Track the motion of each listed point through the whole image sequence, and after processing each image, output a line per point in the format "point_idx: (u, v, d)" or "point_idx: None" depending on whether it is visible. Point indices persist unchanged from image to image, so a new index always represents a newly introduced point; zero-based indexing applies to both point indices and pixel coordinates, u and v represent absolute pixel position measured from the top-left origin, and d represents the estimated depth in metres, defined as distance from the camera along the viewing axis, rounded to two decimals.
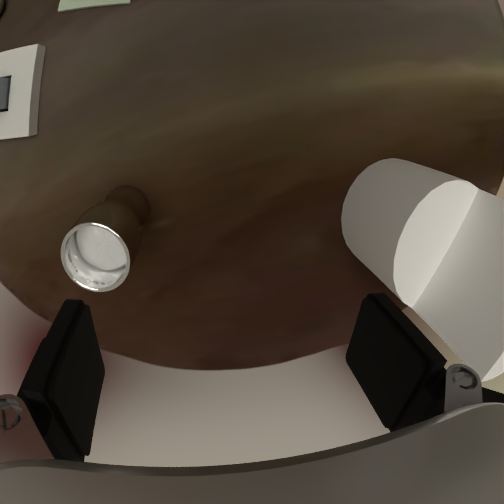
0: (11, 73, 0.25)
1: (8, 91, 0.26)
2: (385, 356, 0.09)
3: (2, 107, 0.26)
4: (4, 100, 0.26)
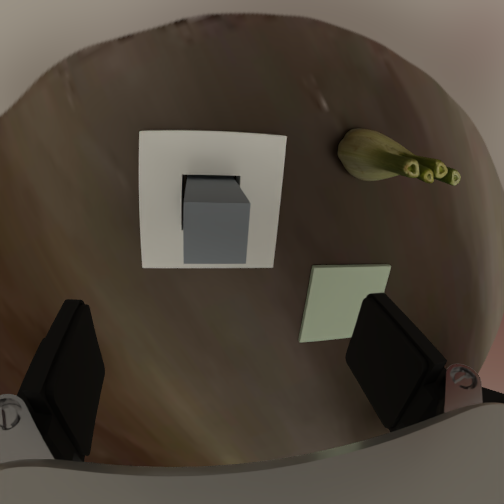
0: None
1: None
2: (385, 356, 0.09)
3: None
4: None
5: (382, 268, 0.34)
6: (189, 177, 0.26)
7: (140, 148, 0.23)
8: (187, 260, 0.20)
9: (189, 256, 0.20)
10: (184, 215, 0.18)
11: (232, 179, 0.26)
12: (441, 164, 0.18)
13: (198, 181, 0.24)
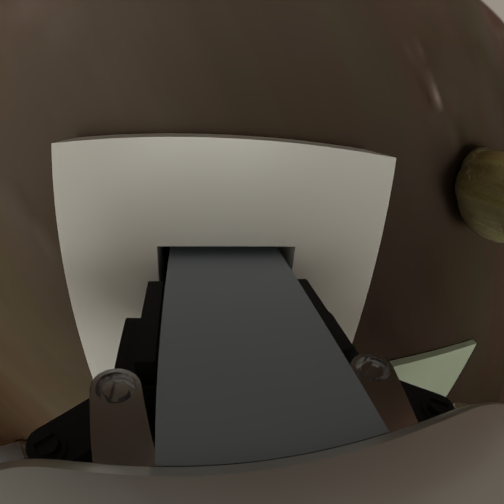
0: None
1: None
2: None
3: None
4: None
5: (467, 348, 0.20)
6: (175, 247, 0.11)
7: (56, 185, 0.09)
8: None
9: None
10: None
11: (275, 252, 0.12)
12: None
13: (197, 269, 0.10)
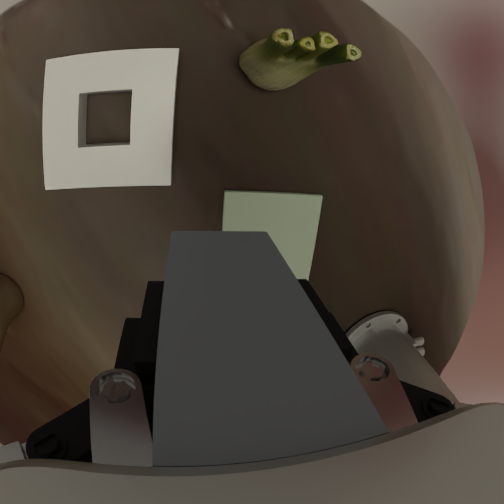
0: (132, 144, 0.24)
1: None
2: None
3: None
4: None
5: (311, 198, 0.31)
6: (174, 246, 0.11)
7: (46, 74, 0.19)
8: None
9: None
10: None
11: (274, 252, 0.11)
12: (327, 34, 0.15)
13: (195, 268, 0.10)
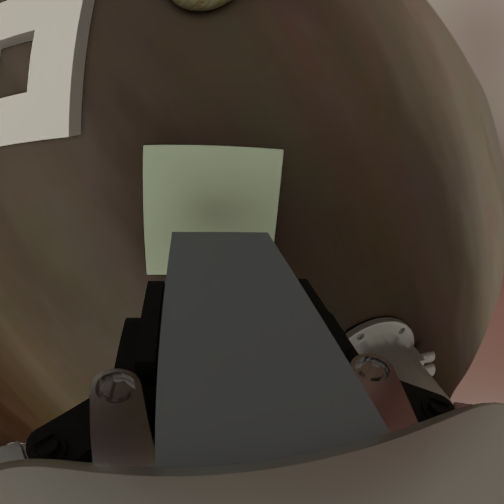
0: (29, 91, 0.15)
1: None
2: None
3: None
4: None
5: (267, 152, 0.22)
6: (175, 247, 0.11)
7: None
8: None
9: None
10: None
11: (275, 253, 0.11)
12: None
13: (197, 269, 0.10)
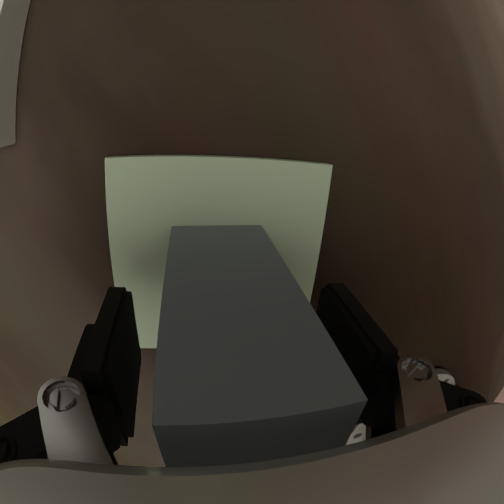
0: None
1: None
2: (340, 345, 0.09)
3: None
4: None
5: (307, 169, 0.14)
6: (174, 240, 0.12)
7: None
8: None
9: None
10: (162, 447, 0.05)
11: (267, 243, 0.12)
12: None
13: (194, 258, 0.11)
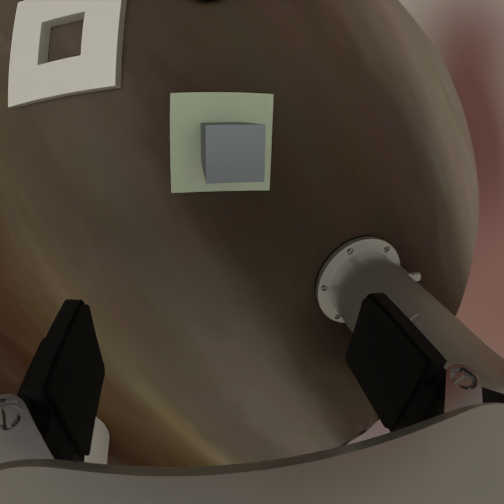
0: (82, 54, 0.21)
1: None
2: (385, 356, 0.09)
3: None
4: None
5: (261, 96, 0.28)
6: None
7: (16, 13, 0.17)
8: (210, 180, 0.21)
9: (211, 176, 0.21)
10: (206, 137, 0.20)
11: None
12: None
13: None
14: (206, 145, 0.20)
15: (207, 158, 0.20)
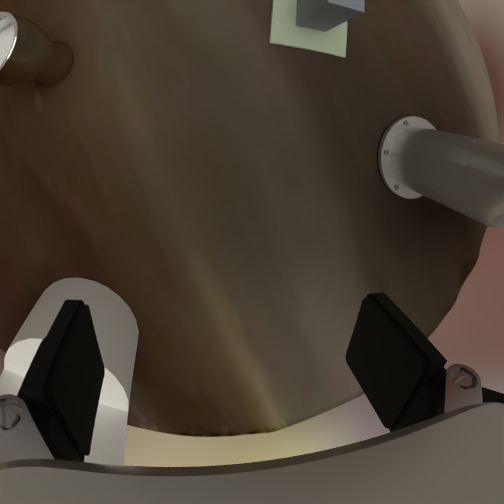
0: None
1: (319, 25, 0.29)
2: (385, 356, 0.09)
3: (306, 18, 0.28)
4: (312, 21, 0.28)
5: None
6: None
7: None
8: (330, 0, 0.22)
9: None
10: None
11: None
12: None
13: None
14: None
15: None
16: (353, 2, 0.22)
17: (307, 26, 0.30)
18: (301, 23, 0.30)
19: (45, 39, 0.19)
